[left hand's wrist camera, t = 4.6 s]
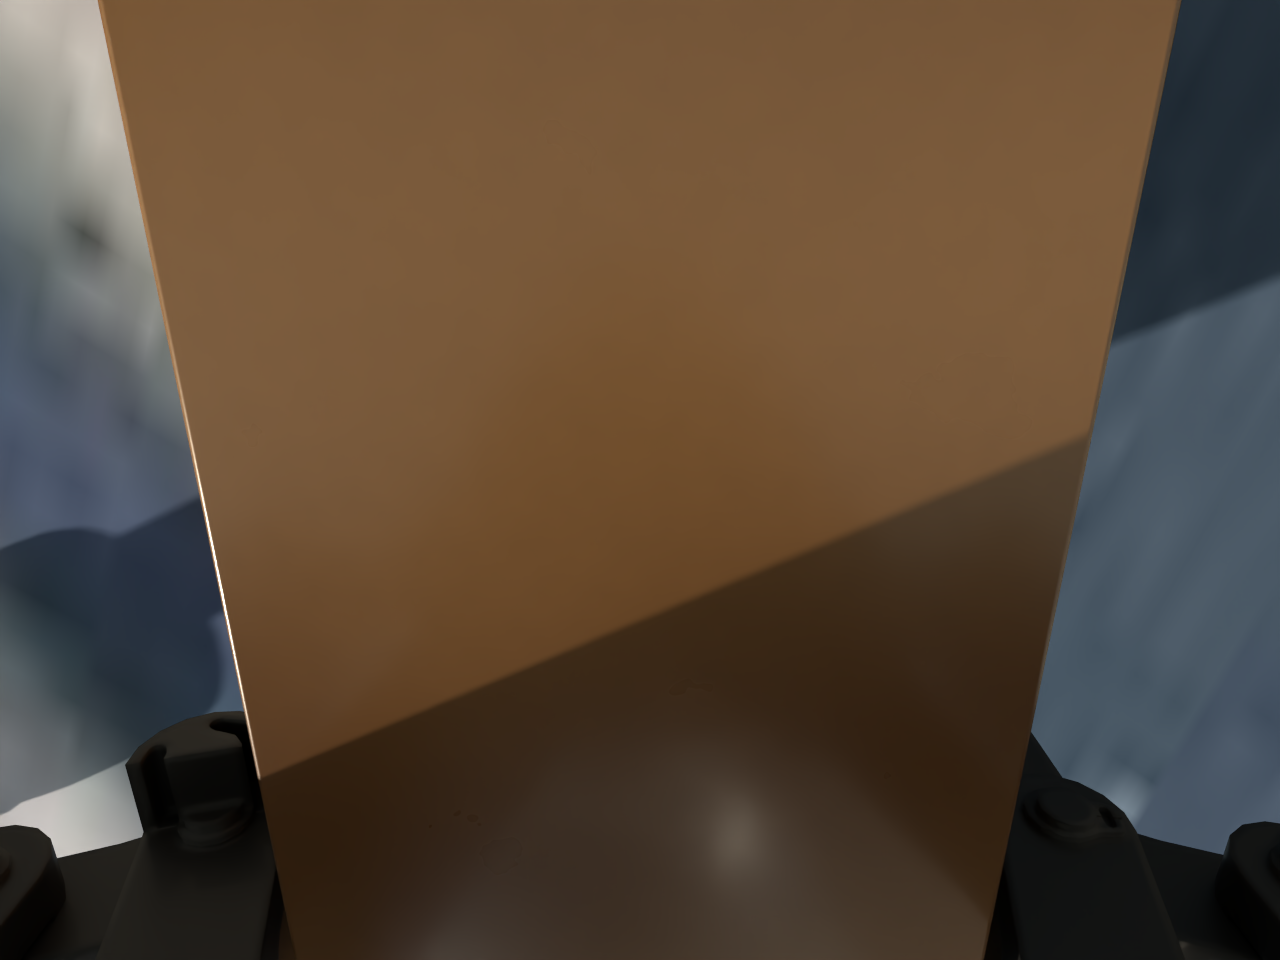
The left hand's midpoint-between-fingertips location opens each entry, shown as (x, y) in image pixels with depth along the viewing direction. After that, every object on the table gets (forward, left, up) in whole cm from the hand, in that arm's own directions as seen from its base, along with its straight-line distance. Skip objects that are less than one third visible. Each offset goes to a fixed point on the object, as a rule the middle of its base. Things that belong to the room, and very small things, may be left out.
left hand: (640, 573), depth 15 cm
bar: (+9, +3, -1) cm, 10 cm away
